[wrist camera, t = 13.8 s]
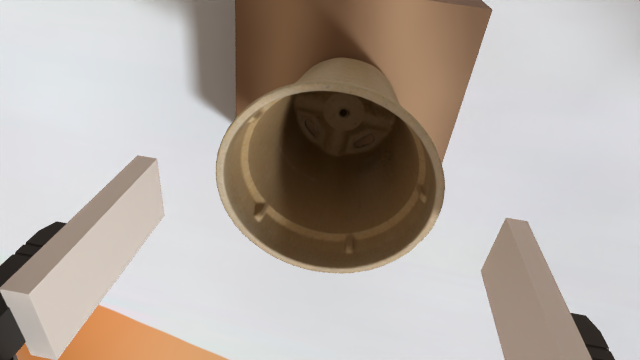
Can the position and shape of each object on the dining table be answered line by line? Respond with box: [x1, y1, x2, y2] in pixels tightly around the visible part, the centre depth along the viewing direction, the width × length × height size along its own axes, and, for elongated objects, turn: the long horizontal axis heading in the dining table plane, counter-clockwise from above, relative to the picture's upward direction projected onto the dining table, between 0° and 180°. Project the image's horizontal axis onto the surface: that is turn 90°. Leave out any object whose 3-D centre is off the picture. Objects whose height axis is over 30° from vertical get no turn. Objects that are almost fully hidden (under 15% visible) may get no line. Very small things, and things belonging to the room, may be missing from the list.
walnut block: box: [235, 0, 492, 164], centre depth 26 cm, size 13×13×6 cm
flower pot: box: [216, 58, 445, 273], centre depth 20 cm, size 9×9×9 cm
